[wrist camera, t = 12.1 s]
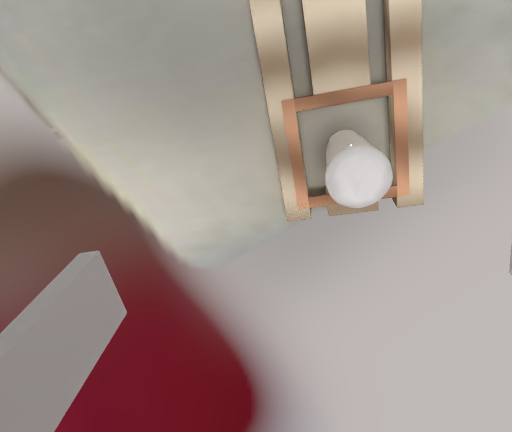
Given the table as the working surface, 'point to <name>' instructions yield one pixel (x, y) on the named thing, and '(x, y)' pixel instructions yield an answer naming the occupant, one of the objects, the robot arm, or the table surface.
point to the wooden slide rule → (344, 90)
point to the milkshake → (356, 170)
